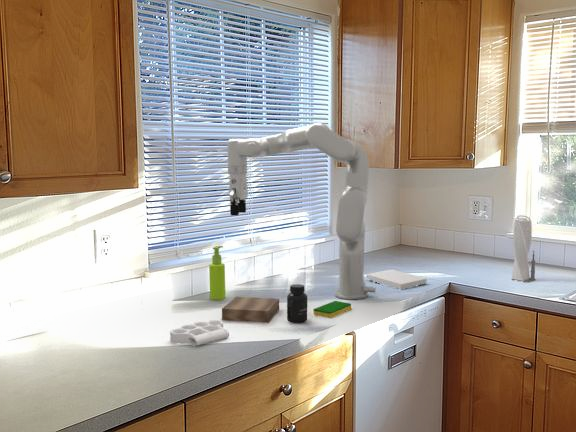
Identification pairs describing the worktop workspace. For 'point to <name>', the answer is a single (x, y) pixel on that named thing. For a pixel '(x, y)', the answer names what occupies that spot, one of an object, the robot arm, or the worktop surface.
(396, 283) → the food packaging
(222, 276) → the soap dispenser
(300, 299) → the supplement bottle
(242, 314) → the stand
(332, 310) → the dish sponge
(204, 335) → the white compartment tray
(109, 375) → the worktop surface
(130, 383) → the worktop surface
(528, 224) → the paper towel holder
